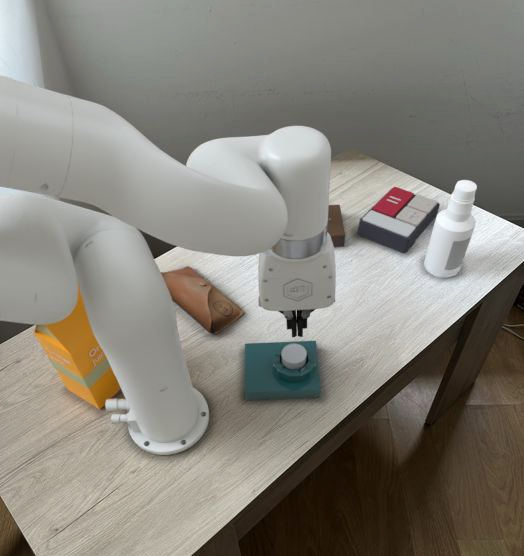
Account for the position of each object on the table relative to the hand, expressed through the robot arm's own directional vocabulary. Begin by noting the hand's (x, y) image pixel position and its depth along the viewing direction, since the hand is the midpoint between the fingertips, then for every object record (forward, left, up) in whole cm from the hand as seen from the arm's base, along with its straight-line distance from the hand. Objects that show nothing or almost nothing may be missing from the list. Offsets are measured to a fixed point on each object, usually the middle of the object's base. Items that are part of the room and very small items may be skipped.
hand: (296, 329), depth 78 cm
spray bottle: (+30, +24, -11) cm, 40 cm away
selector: (+5, +36, -11) cm, 38 cm away
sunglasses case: (-17, +17, -11) cm, 27 cm away
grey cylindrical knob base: (-2, 0, -11) cm, 11 cm away
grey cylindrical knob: (0, 0, -7) cm, 7 cm away
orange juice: (-32, 0, -11) cm, 34 cm away
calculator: (+23, +37, -11) cm, 45 cm away
